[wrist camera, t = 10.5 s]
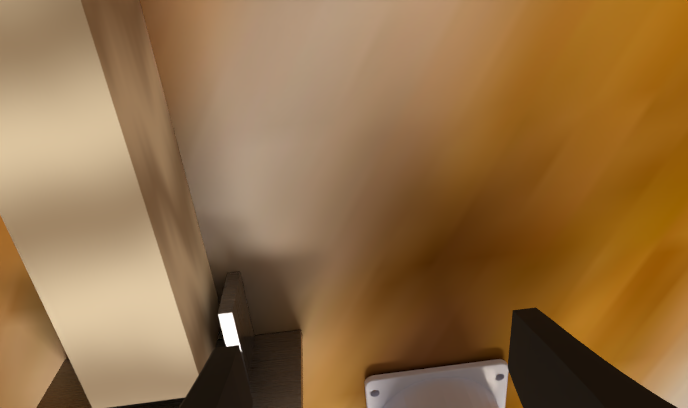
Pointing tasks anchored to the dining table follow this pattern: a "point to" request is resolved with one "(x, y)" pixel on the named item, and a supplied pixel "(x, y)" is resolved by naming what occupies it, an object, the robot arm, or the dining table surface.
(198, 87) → the dining table surface
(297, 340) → the bracket
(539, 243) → the dining table surface
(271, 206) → the dining table surface
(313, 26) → the dining table surface
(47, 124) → the rail
